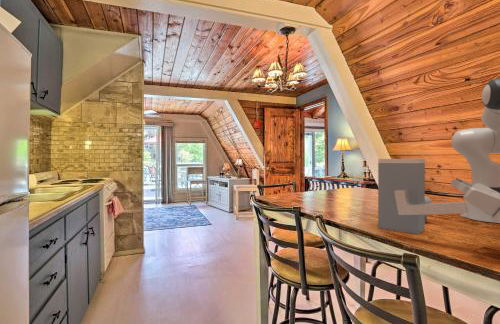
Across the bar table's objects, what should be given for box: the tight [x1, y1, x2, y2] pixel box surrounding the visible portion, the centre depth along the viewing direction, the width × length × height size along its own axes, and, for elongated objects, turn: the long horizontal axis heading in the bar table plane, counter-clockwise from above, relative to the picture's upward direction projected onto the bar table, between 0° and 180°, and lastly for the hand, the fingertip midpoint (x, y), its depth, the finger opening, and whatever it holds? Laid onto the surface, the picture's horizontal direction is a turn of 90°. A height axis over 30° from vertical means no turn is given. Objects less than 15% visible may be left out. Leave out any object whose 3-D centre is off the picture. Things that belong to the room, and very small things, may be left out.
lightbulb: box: [425, 195, 433, 222], centre depth 112 cm, size 6×6×11 cm
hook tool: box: [394, 189, 468, 215], centre depth 86 cm, size 3×18×8 cm, turn 46°
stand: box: [377, 158, 426, 235], centre depth 102 cm, size 10×13×26 cm
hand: (453, 180), depth 81 cm, fingers open, 4 cm apart
